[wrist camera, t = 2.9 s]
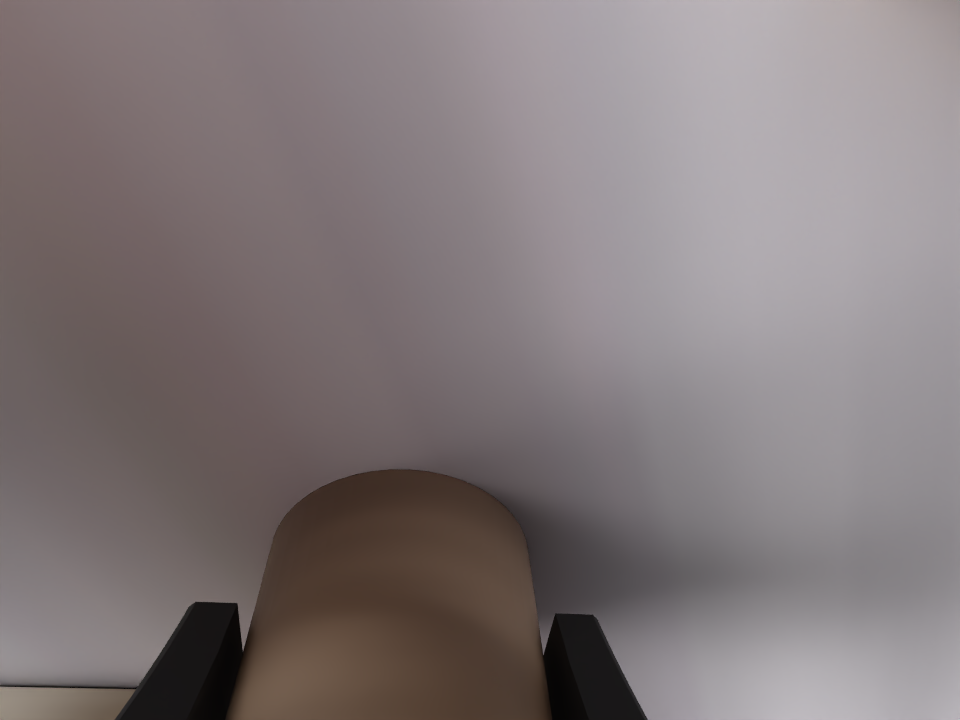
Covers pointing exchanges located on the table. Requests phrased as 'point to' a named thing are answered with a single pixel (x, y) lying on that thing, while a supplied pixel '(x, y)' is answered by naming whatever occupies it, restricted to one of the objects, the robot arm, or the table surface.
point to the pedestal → (62, 703)
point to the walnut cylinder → (395, 608)
